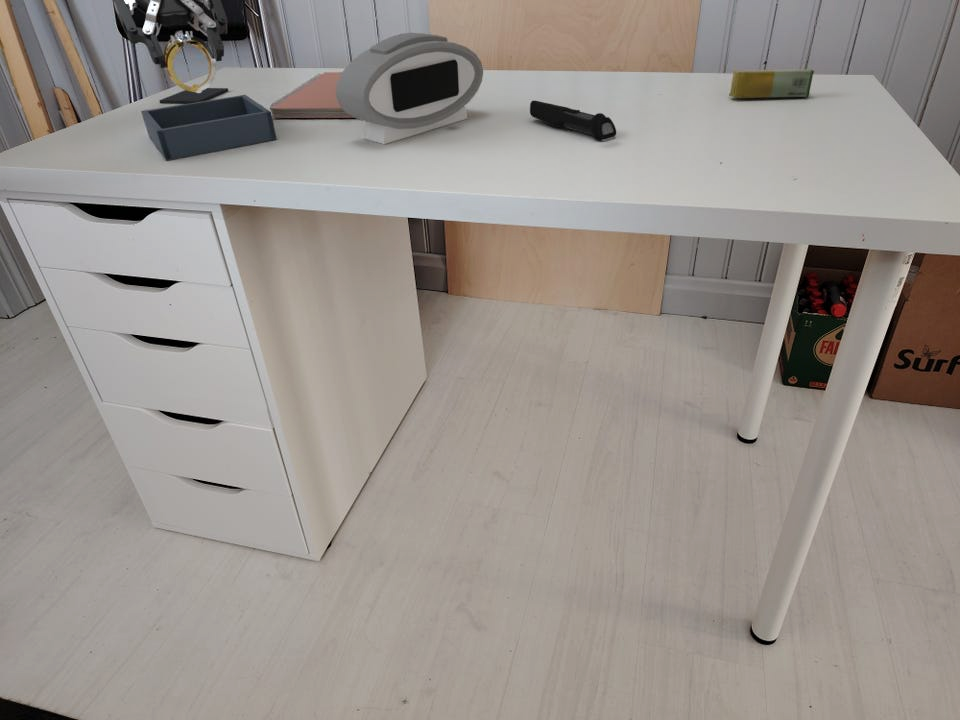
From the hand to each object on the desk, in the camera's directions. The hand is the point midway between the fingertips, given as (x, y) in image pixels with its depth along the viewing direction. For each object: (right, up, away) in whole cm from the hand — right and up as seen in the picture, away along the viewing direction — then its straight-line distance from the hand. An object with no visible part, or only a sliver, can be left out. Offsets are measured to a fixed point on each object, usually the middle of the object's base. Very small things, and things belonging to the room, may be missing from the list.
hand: (191, 60), depth 90 cm
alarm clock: (+31, -7, +8) cm, 32 cm away
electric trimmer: (+53, -8, +5) cm, 54 cm away
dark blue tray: (0, -8, +7) cm, 11 cm away
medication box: (+87, +1, +15) cm, 88 cm away
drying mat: (-13, +8, +31) cm, 35 cm away
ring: (-1, -3, +4) cm, 5 cm away
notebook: (+15, +5, +26) cm, 30 cm away
